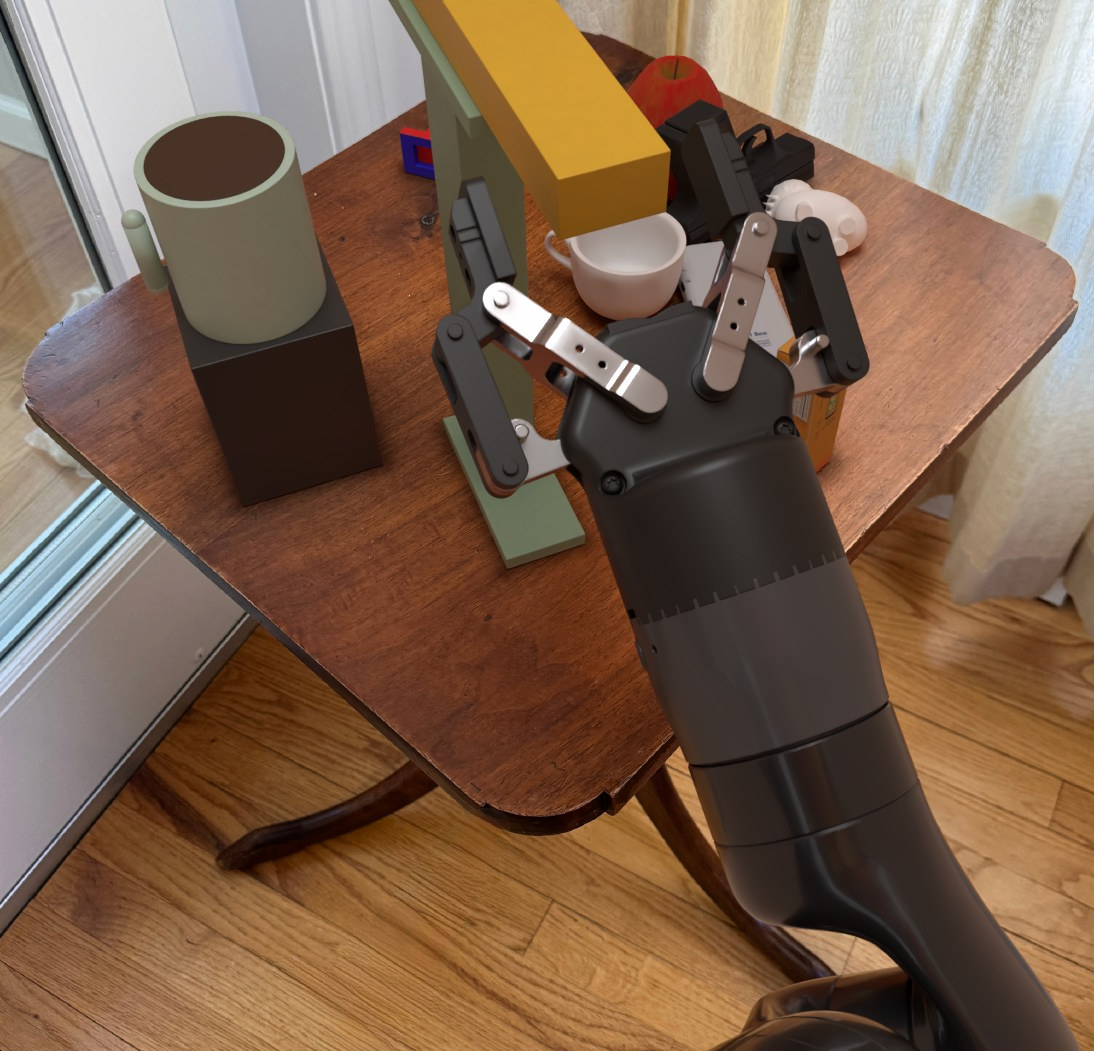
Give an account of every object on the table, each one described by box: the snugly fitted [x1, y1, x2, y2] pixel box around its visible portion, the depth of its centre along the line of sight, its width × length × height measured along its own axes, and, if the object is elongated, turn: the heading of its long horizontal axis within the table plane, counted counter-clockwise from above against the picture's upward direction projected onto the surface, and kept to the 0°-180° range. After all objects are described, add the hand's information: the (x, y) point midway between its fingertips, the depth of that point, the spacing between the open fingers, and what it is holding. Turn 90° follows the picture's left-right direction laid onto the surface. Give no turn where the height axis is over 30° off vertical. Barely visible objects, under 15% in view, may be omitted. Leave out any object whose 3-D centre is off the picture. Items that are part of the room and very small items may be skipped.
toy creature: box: [764, 179, 868, 257], centre depth 83 cm, size 5×8×6 cm
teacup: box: [543, 212, 686, 321], centre depth 79 cm, size 10×8×5 cm
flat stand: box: [387, 0, 586, 570], centre depth 59 cm, size 5×12×30 cm, turn 21°
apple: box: [626, 54, 725, 201], centre depth 84 cm, size 8×8×11 cm
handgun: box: [655, 100, 816, 246], centre depth 82 cm, size 3×14×10 cm, turn 128°
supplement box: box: [776, 336, 848, 474], centre depth 67 cm, size 3×3×10 cm
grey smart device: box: [677, 240, 795, 357], centre depth 78 cm, size 6×13×2 cm, turn 10°
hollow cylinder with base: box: [120, 110, 384, 507], centre depth 65 cm, size 10×9×21 cm
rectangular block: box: [412, 0, 671, 241], centre depth 43 cm, size 4×18×2 cm, turn 21°
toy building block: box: [399, 125, 435, 180], centre depth 89 cm, size 4×4×8 cm
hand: (584, 158), depth 40 cm, fingers open, 8 cm apart
